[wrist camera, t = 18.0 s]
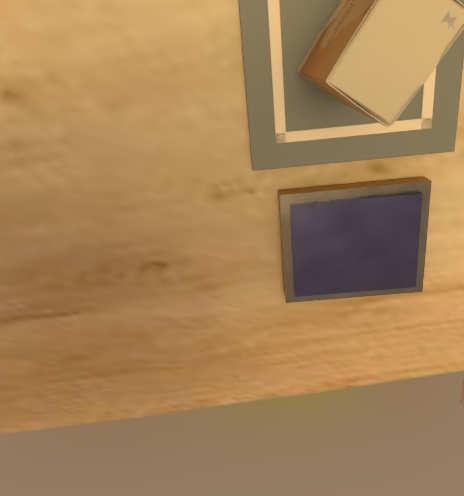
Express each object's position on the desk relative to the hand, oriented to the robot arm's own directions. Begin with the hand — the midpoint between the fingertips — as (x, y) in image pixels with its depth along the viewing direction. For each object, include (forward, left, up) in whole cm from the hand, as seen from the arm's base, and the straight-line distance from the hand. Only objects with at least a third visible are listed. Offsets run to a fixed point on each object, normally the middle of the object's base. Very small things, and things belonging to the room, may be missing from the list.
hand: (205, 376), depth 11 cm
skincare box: (+9, +7, -26) cm, 29 cm away
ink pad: (+10, -8, -27) cm, 30 cm away
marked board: (+10, +7, -27) cm, 29 cm away
